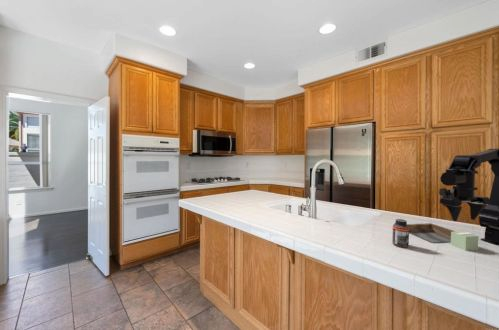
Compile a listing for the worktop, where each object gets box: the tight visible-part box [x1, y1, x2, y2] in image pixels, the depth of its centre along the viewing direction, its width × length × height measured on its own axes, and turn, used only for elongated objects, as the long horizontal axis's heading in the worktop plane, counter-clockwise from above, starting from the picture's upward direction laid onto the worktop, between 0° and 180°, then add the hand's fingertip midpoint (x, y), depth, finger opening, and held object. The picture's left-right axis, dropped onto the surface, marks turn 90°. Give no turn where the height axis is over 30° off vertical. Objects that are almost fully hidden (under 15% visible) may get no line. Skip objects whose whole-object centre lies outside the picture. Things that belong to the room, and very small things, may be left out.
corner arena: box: [406, 222, 455, 244], centre depth 107 cm, size 14×14×4 cm
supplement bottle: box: [392, 218, 410, 248], centre depth 96 cm, size 6×6×11 cm
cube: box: [450, 230, 479, 252], centre depth 95 cm, size 6×6×6 cm
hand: (463, 220), depth 95 cm, fingers open, 9 cm apart
